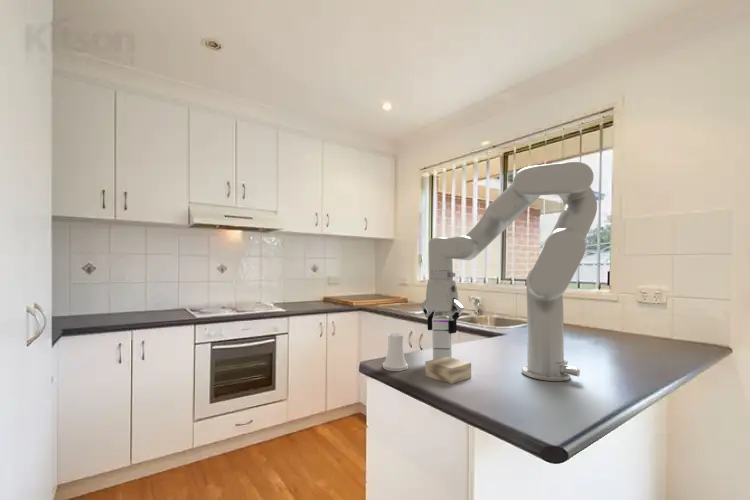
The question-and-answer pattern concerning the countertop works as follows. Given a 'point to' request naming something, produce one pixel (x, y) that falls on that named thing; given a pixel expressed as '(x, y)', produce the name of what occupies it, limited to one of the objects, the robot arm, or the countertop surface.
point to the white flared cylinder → (395, 353)
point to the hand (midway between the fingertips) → (441, 331)
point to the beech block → (448, 369)
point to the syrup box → (441, 337)
